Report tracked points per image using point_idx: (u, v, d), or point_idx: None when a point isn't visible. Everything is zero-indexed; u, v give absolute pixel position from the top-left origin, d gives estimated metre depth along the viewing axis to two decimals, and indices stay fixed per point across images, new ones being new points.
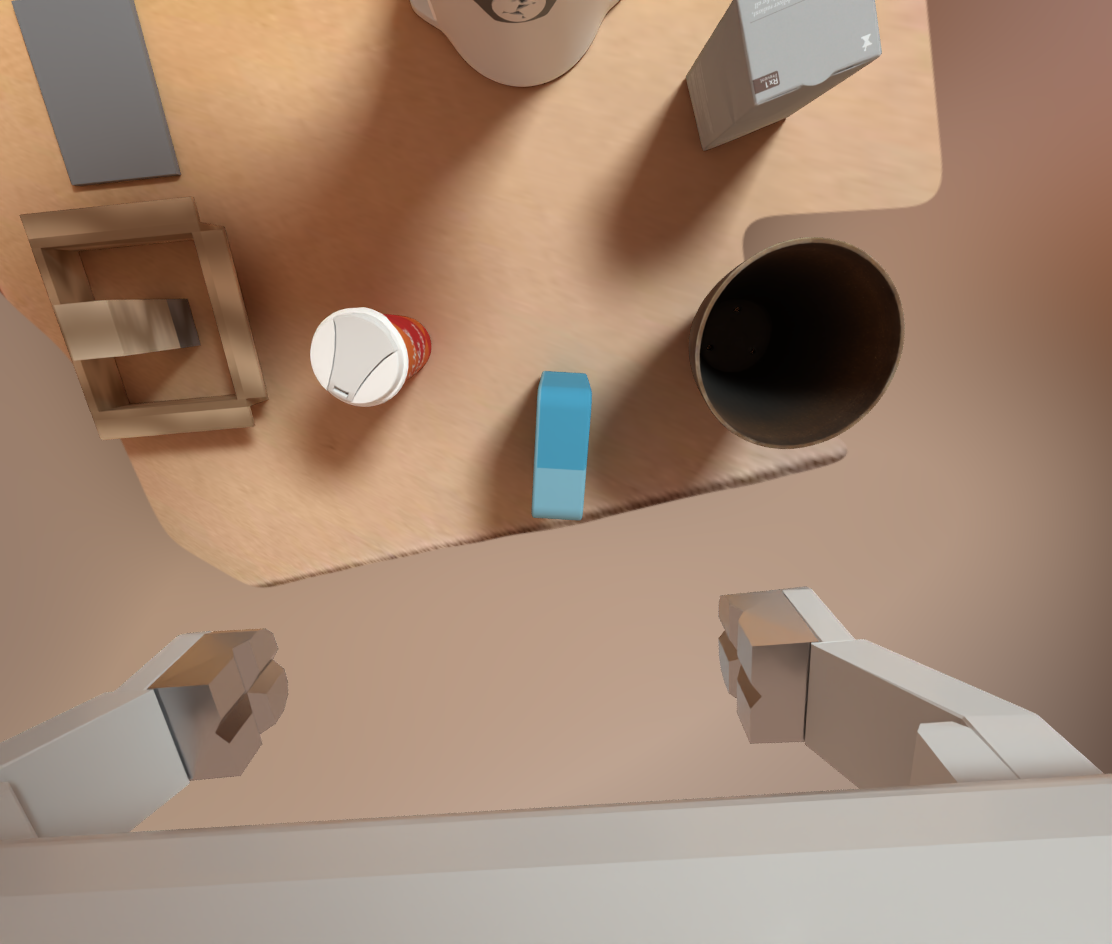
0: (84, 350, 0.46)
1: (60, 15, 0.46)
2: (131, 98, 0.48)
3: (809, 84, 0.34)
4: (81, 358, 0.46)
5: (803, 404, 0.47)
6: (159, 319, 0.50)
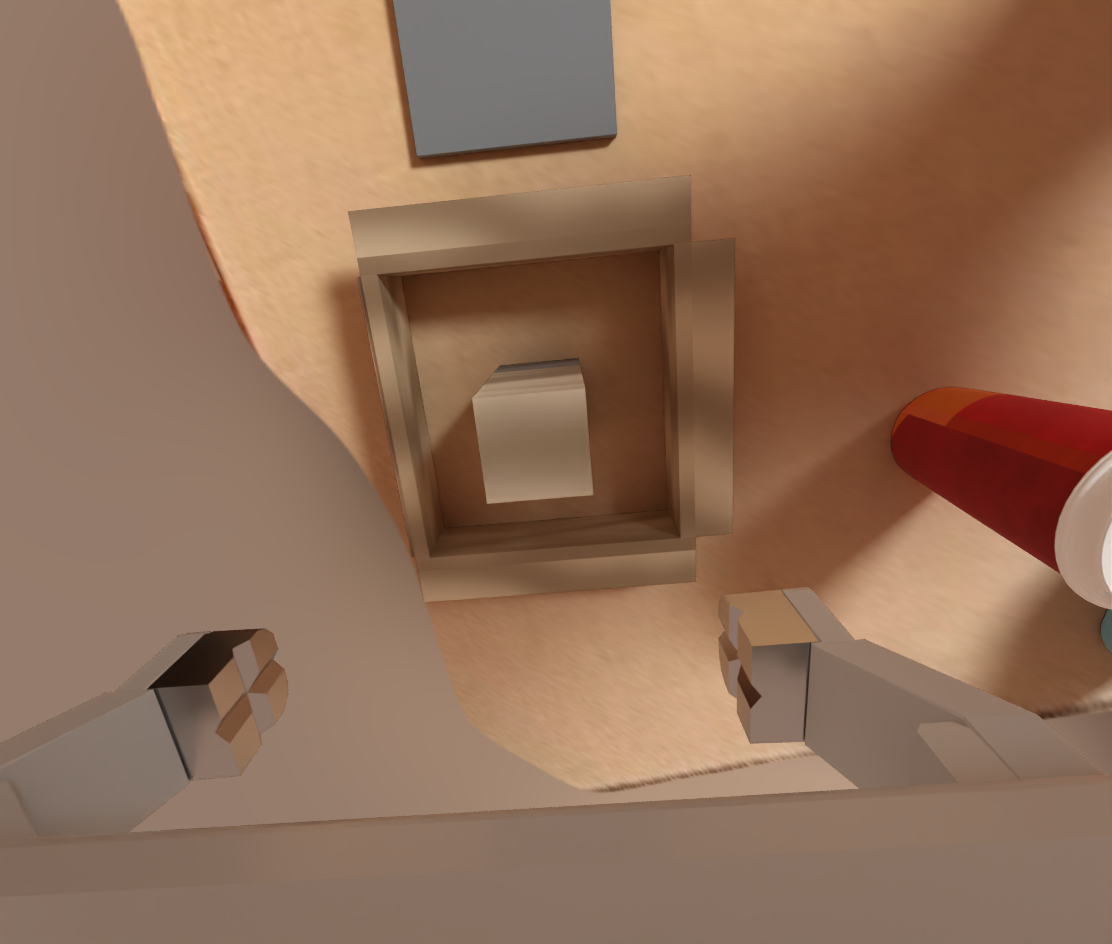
0: (513, 485, 0.23)
1: None
2: None
3: None
4: (503, 499, 0.23)
5: None
6: None
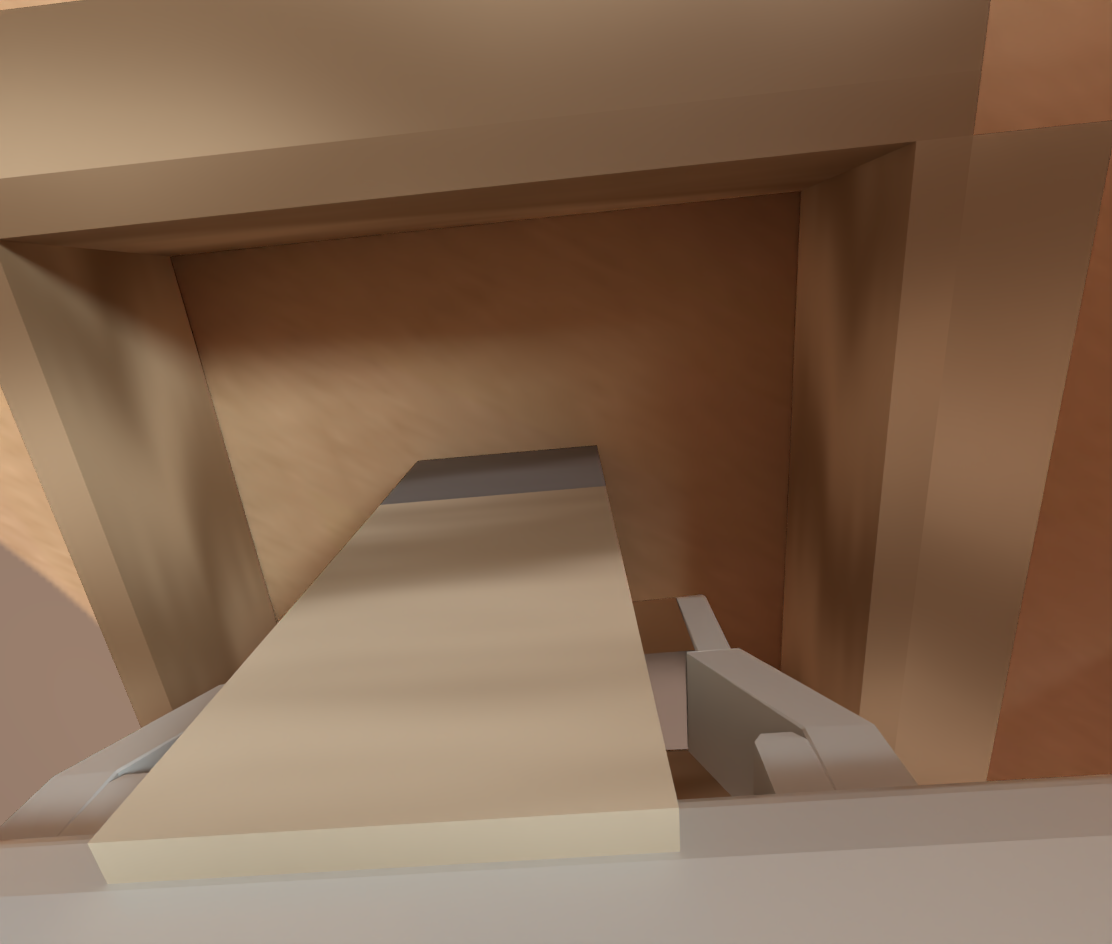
0: None
1: None
2: None
3: None
4: None
5: None
6: None
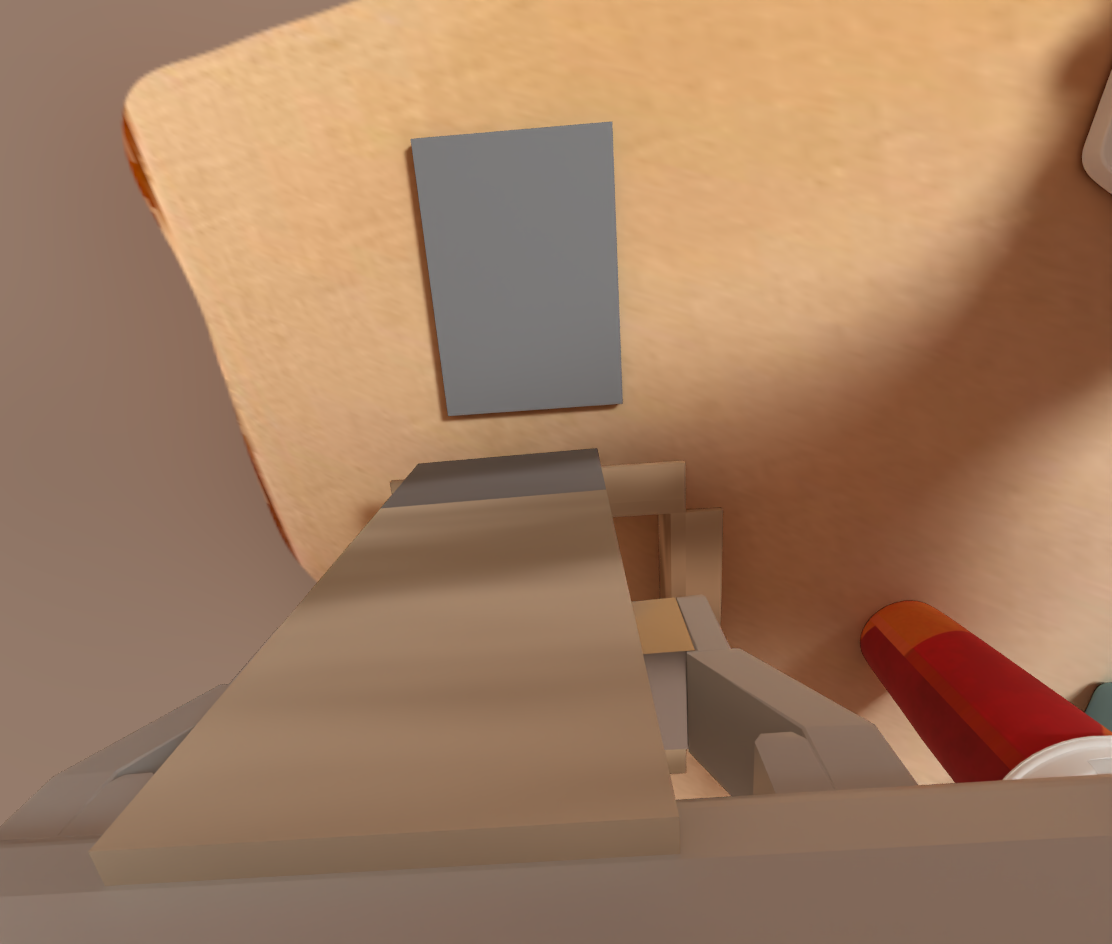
0: None
1: (490, 163, 0.27)
2: (577, 292, 0.29)
3: None
4: None
5: None
6: None
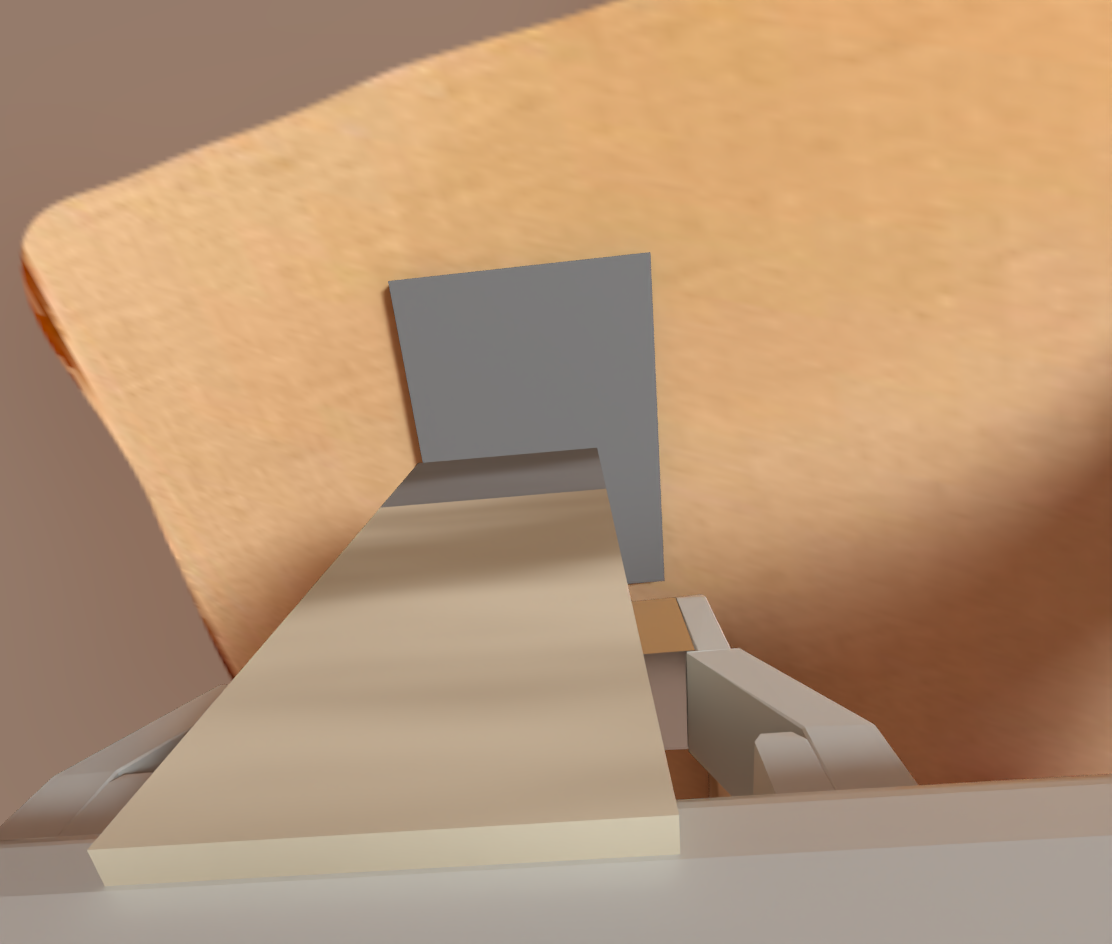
0: None
1: (491, 308, 0.21)
2: (607, 457, 0.23)
3: None
4: None
5: None
6: None
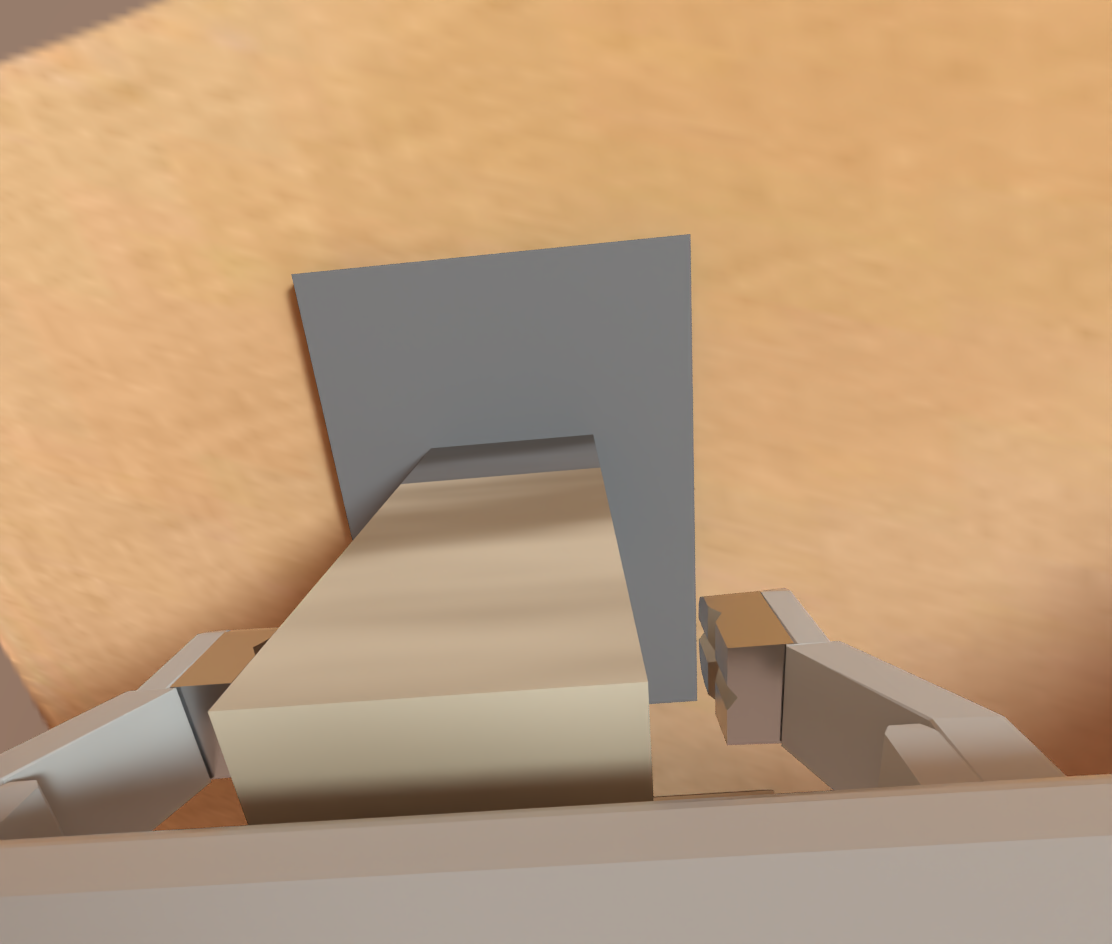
0: None
1: (449, 316, 0.14)
2: (619, 533, 0.16)
3: None
4: None
5: None
6: None
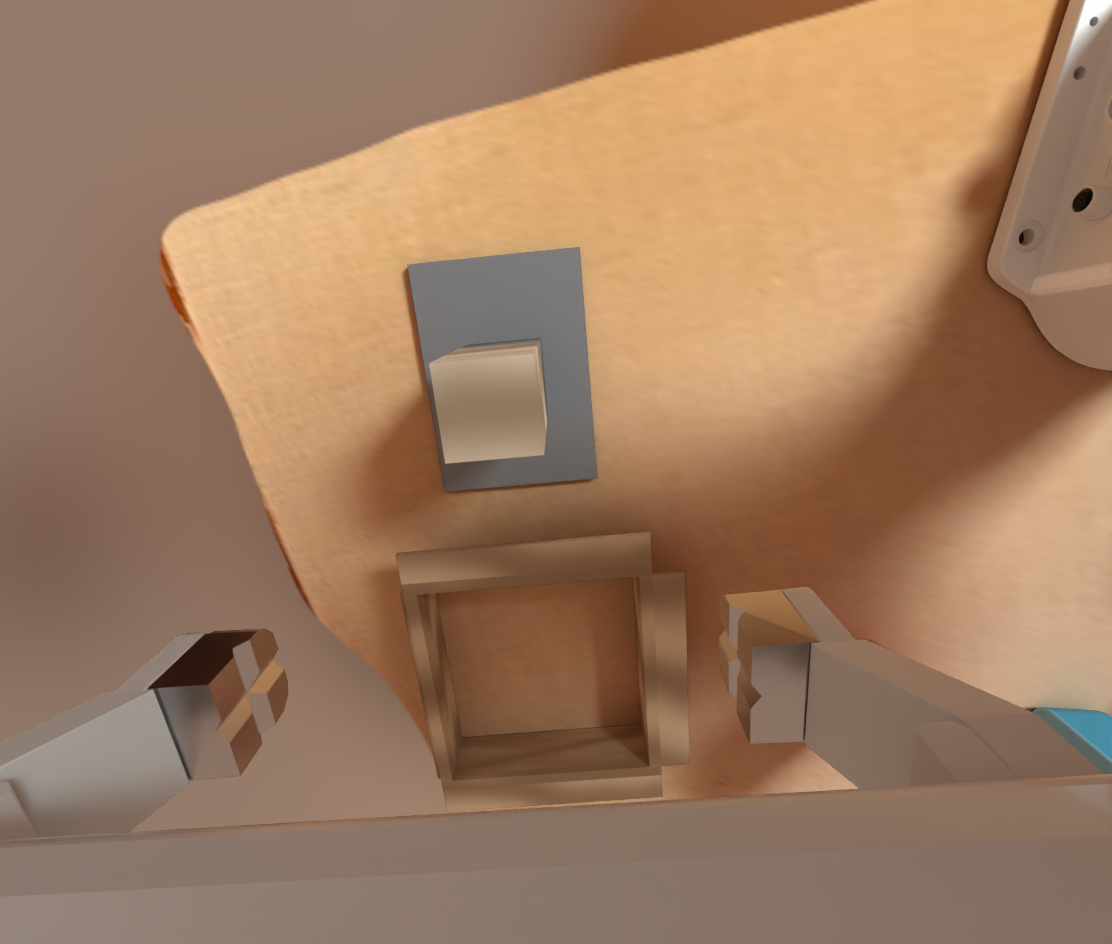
0: (469, 445, 0.24)
1: (476, 283, 0.32)
2: (554, 387, 0.34)
3: None
4: (460, 459, 0.24)
5: None
6: (541, 378, 0.29)
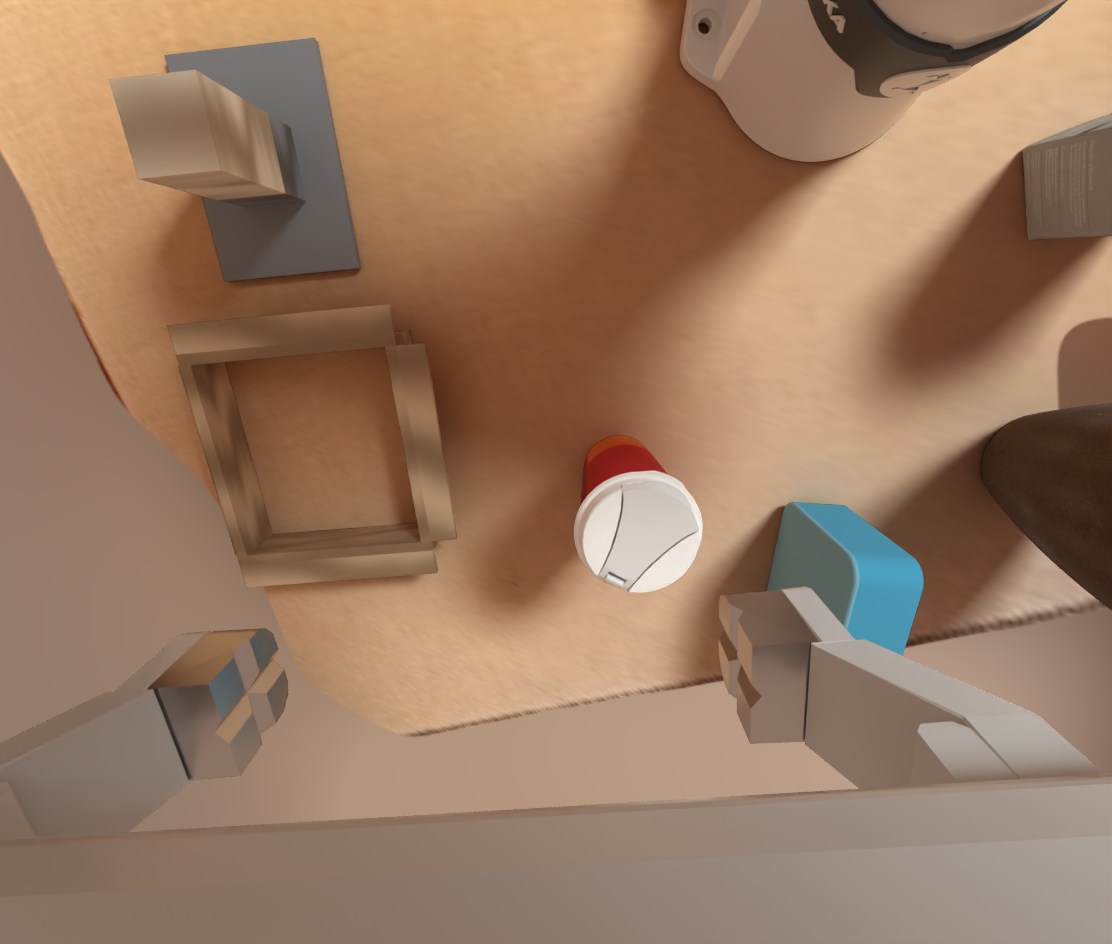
0: (156, 160, 0.28)
1: (227, 73, 0.36)
2: (309, 176, 0.38)
3: None
4: (150, 175, 0.29)
5: None
6: (260, 138, 0.33)
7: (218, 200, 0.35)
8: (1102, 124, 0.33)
